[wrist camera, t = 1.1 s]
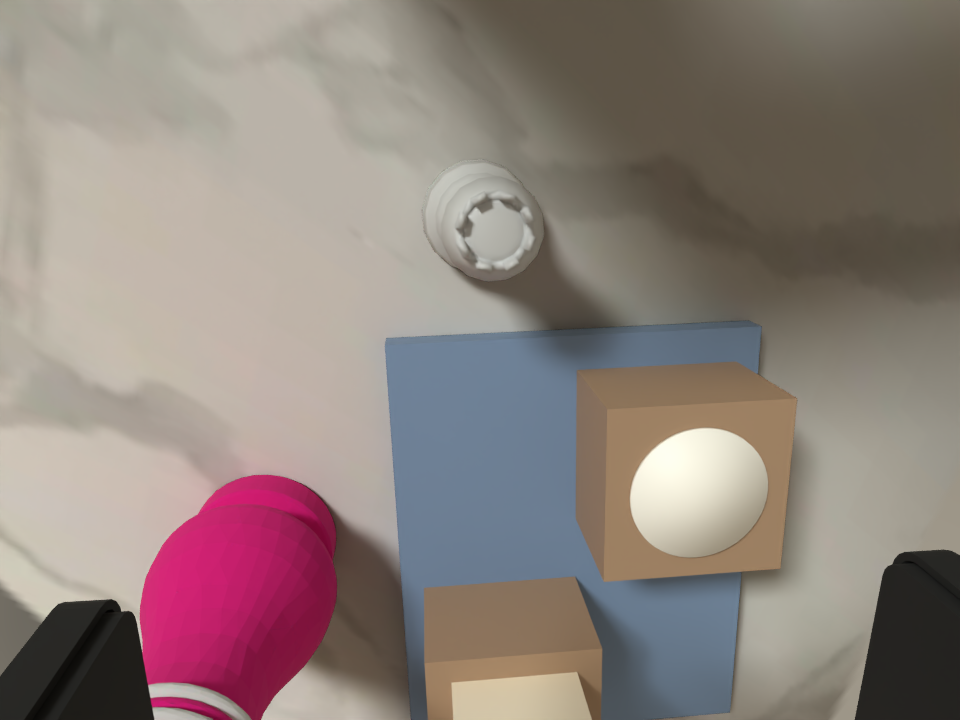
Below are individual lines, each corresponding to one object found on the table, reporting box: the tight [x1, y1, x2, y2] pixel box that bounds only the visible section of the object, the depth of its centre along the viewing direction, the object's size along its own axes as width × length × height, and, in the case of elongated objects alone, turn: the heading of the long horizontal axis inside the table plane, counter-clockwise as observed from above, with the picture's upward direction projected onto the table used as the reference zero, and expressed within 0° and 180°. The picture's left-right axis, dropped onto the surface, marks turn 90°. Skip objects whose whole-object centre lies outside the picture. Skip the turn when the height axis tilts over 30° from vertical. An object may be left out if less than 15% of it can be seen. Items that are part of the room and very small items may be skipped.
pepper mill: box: [140, 475, 337, 720], centre depth 22 cm, size 7×7×20 cm
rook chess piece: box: [422, 159, 544, 282], centre depth 25 cm, size 4×4×8 cm
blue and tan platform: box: [385, 321, 797, 720], centre depth 27 cm, size 20×16×11 cm
